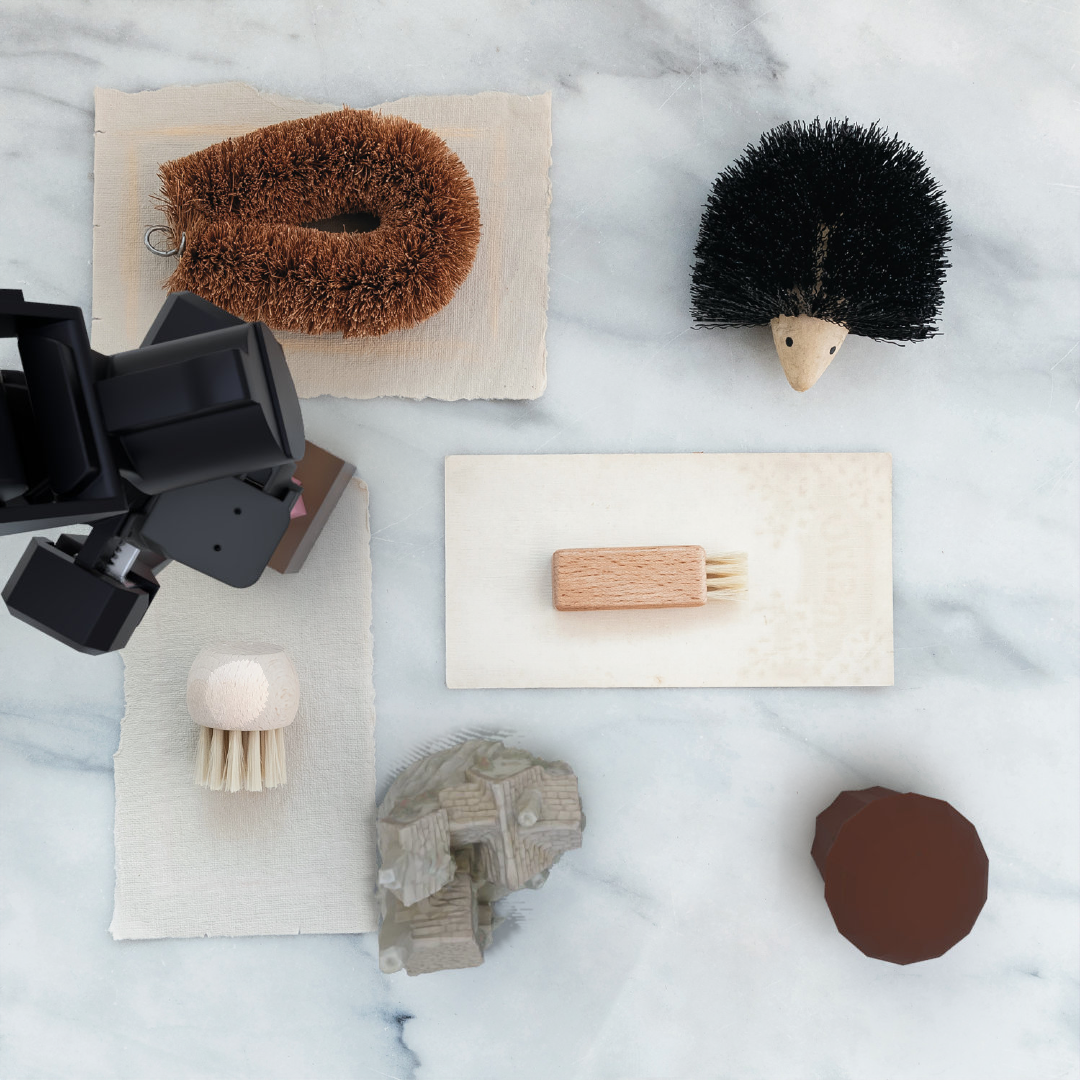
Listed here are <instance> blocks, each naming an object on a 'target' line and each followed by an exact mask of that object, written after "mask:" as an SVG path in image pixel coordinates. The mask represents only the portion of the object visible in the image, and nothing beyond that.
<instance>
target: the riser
mask: <svg viewBox="0 0 1080 1080" xmlns="http://www.w3.org/2000/svg"><path fill="white" fill-rule="evenodd" d="M294 463H296V466H297V468H296V470H295V472H294V474H293V476H292V477H293V478H295V479H297V480H299V481H301V484H300V486H301V487H303V488H304V490H303V492H302V493H301V496H302V499H303V503H304V506H305V510H306V513H307V514H306V515H303V516H300V517H296V518H293V519H291V520H290V524H289V526H288V528H287V530H286V532H285V534H284V536H283V537H282V539H281V541H280V543H279V545H278V546H277V548H276V550H275V552H274V554H273V555H272V557H271V559H270V561H269V563H268V564H267V566H266V567H268V568H270V569H272V570H274V571H275V572H277V573H279V574H281V575H291V574H299V573H300V571H301V570H302V568H303V566H304V564H305V562H306V561H307V558H309V555H310V554H311V552H312V550H313V548H314V546H315V544H316V542H317V541H318V539H319V537H320V535H321V533H322V531H323V530H324V528H325V526H326V525H327V522H328V521H329V520H330V517H331V515H332V513H333V512H334V510H335V508H336V506H337V505H338V503H339V501H340V499H341V497H342V495H343V494H344V493H345V490H346V489H347V487H348V485H349V483H350V481H351V480H352V477H353V476H354V474H355V473H356V471H357V469H358V467H357V466H356V465H354V464H352V463H350V462H349V461H347V460H345V459H343V458H341V457H339V456H338V455H336V454H335V453H333V452H330V451H328V450H327V449H325V448H323V447H321V446H320V445H317V444H316V443H314V442H312V441H310V440H308V439H307V438H305V452H304V456H303V458H302V460H299V461H295V462H294Z"/></svg>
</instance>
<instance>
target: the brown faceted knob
mask: <svg viewBox="0 0 1080 1080" xmlns="http://www.w3.org/2000/svg"><path fill="white" fill-rule="evenodd" d="M814 830H815V831H814V838H813V841H812V846H811V849H810V855H811V857H812V860H813V861H814V863H815V865H816V868H817V869H818V872H819V874H820V876H821V878H822V881H823V882H824V891H823V898H824V900H825V903H826V905H827V907H828V911H829V913H830V915H831V917H832V920H833V922H834V924H835V927H836V929H837V931H838V934H840V935H841V936H842V937H844V938H845V939H846V940H847V941H848V942H849V943H850V944H852V945H853V946H854V947H855V948H856V949H857V950H859V951H860V952H861V953H862V954H864V955H865V957H867V958H870V959H875V960H879V961H882V962H887V963H891V964H895V965H899V966H901V967H902V966H908V965H912V964H917V963H921V962H925V961H929V960H934V959H935V960H936V959H939V958H941V957H943V956H944V955H945V954H947V953H948V952H949V951H951V949H952V948H953V947H955V946H956V945H957V944H959V943H960V942H961V941H962V940H964V939H965V938H966V937H967V936H968V935H970V934H971V932H972V930H973V928H974V926H975V924H976V922H977V920H978V918H979V916H980V915H981V913H982V911H983V908H984V906H985V905H986V902H987V900H988V897H989V896H988V895H989V894H988V893H989V870H990V859H989V857H988V855H987V852H986V850H985V848H984V845H983V842H982V840H981V838H980V836H979V833H978V830H977V828H976V826H975V824H973V823H972V822H971V821H970V820H969V819H967V818H966V816H964V814H962V813H961V812H960V811H958V809H957V808H955V807H954V806H953V805H951V804H950V803H949V802H948V801H947V800H944V799H940V798H935V797H932V796H928V795H924V794H920V793H916V792H913V791H912V792H911V791H908V792H905V793H904V792H900V791H898V790H893V789H890V788H886V787H883V786H879V785H876V786H872V787H871V786H870V787H867V788H863V789H856V790H842V791H840V793H839V794H838V796H837V797H836V798H835V799H834V800H833V802H831V804H830V805H829V806H828V807H826V808H825V809H824V810H823V811H821V812H820V813H819V814H818V815H817V816H816V817H815V829H814Z"/></svg>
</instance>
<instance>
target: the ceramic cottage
mask: <svg viewBox="0 0 1080 1080" xmlns="http://www.w3.org/2000/svg"><path fill="white" fill-rule="evenodd" d="M578 783H579V778H578V776H577V775H576V774H575V773H574V770H573V767H572V766H571V765H570V764H569V763H567V762H565V761H564V760H556V761H555V760H554V761H546V760H545V759H544V758H543V757H542V756H538V757H534V755H533V753H532V751H529V750H527V749H524V748H520V749H519V748H518V747H517V746H512V747H506V746H505V744H504V742H503V741H501V742H500V741H493V740H487V739H479V738H477V739H470V740H466V741H464V742H461V743H459V744H455V745H454V746H452V748H446V749H442V750H440V751H438V752H435V753H433V754H431V755H427V756H424V757H423V758H421V759H419V760H416V761H415V762H413V763H412V764H410V765H409V766H406V768H404V769H403V770H401V771H400V772H399V773H398V774H397V776H396V777H395V779H394V780H393V782H392V783H391V785H390V786H389V788H388V790H387V792H386V794H385V795H384V798H383V801H382V802H381V804H380V805H379V806H378V810H377V819H376V821H375V825H374V826H375V829H376V832H377V841H376V844H377V848H378V852H379V855H380V858H381V861H380V868H379V869H378V874H377V877H376V879H375V885H376V887H377V889H376V892H375V895H374V899H375V900H376V901H377V902H378V907H379V912H380V914H381V916H382V924H381V927H380V929H379V932H378V969H379V970H380V971H381V972H382V974H385V975H391V974H396V973H398V972H401V971H402V970H403V969H404V970H405V971H406V975H407V976H408V977H418V976H420V975H421V974H422V975H423V974H424V975H425V974H432V973H436V972H439V971H446V970H462V969H463V970H464V969H470V968H471V969H472V968H478V967H480V966H481V965H483V964H484V963H485V955H484V951H487V950H488V949H489V948H490V946H491V945H492V944H493V943H494V939H493V932H494V931H496V929H498V928H499V927H500V926H502V925H503V924H504V923H505V922H506V921H507V917H506V916H499V915H497V913H496V908H495V903H497V902H498V901H500V900H502V899H503V898H505V897H508V896H510V895H511V894H513V893H516V892H519V891H523V890H526V889H528V890H532V891H533V890H534V891H536V890H540V889H542V888H543V887H544V885H545V883H546V882H547V880H548V879H549V877H550V875H551V872H550V871H549V870H552V869H553V868H554V866H555V865H557V864H559V863H560V861H561V858H562V857H563V856H564V853H565V852H567V851H572V850H577V849H582V847H583V832H584V831H585V829H586V827H587V816H586V815H585V813H584V812H583V802H582V798H581V797H580V796H579V788H578V787H579V786H578Z"/></svg>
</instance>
